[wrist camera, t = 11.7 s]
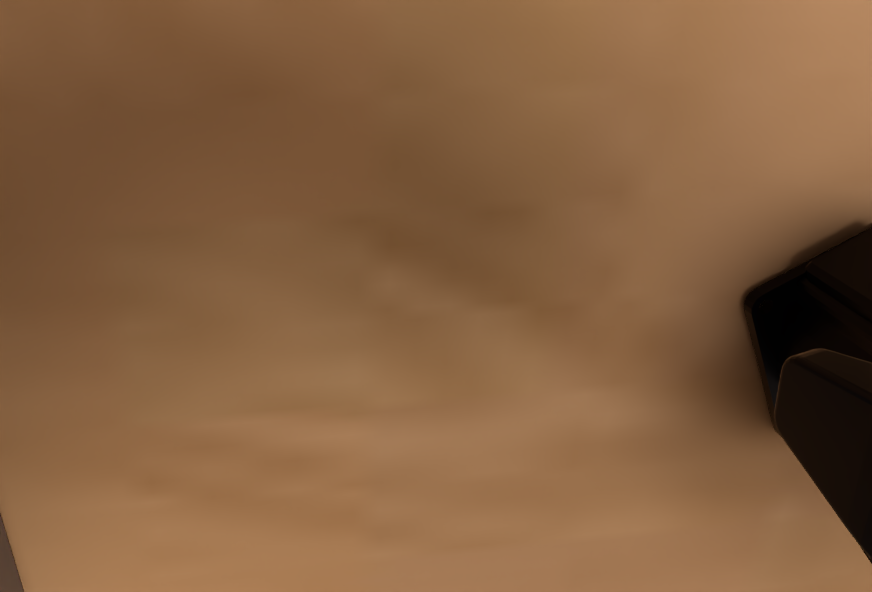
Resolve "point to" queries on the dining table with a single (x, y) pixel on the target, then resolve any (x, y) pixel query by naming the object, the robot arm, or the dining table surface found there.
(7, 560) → the grey slotted slab
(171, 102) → the dining table surface
